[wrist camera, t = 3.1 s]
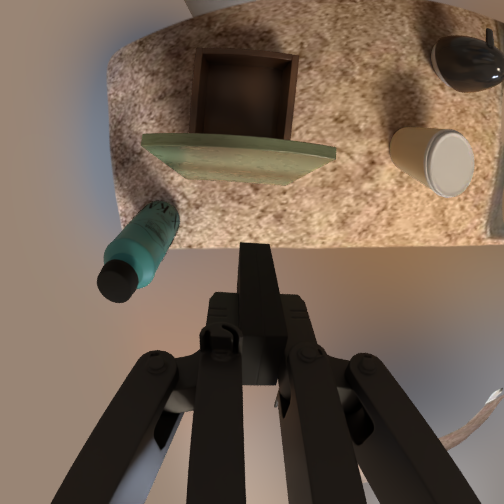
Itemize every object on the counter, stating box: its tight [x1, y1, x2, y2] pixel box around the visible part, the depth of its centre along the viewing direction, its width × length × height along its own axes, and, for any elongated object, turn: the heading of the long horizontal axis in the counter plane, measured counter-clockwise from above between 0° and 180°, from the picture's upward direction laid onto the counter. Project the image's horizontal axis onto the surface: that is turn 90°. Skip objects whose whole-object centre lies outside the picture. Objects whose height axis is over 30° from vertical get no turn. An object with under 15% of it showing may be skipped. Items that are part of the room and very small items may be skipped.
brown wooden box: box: [189, 48, 299, 140], centre depth 32 cm, size 16×12×8 cm
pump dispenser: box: [431, 28, 504, 93], centre depth 23 cm, size 10×10×15 cm
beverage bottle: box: [97, 200, 180, 303], centre depth 33 cm, size 6×7×20 cm
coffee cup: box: [390, 127, 474, 198], centre depth 32 cm, size 9×9×12 cm
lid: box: [141, 133, 336, 186], centre depth 23 cm, size 17×12×1 cm
